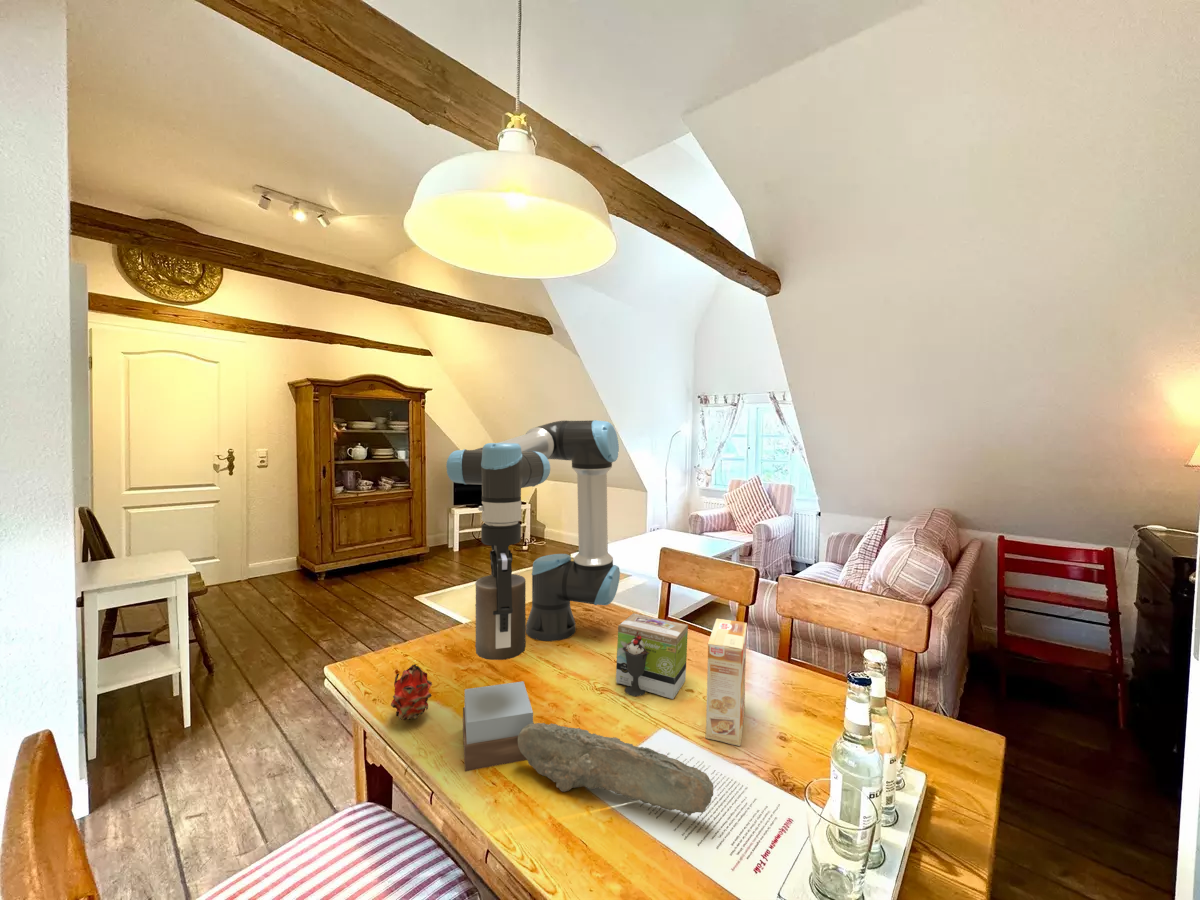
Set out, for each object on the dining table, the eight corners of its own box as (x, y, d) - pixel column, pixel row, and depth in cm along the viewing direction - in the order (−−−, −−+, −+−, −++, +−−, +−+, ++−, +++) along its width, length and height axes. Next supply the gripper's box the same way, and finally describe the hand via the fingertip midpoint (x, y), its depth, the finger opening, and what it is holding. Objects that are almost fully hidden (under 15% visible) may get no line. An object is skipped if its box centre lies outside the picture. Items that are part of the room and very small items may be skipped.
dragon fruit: (379, 727, 100) (379, 670, 100) (405, 705, 108) (405, 652, 108) (415, 734, 98) (415, 676, 97) (439, 711, 106) (439, 657, 106)
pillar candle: (534, 652, 94) (534, 576, 93) (485, 665, 88) (486, 584, 88) (513, 635, 102) (513, 564, 101) (467, 646, 96) (467, 571, 96)
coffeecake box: (741, 747, 95) (743, 649, 95) (704, 738, 98) (706, 643, 97) (746, 707, 109) (748, 621, 109) (713, 701, 112) (715, 617, 111)
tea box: (614, 684, 118) (616, 624, 118) (630, 667, 127) (632, 611, 127) (674, 701, 111) (676, 636, 111) (686, 682, 120) (688, 622, 120)
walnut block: (462, 731, 100) (463, 707, 100) (526, 721, 104) (526, 698, 104) (465, 773, 87) (465, 746, 87) (536, 760, 91) (537, 734, 91)
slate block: (464, 708, 99) (464, 689, 99) (523, 699, 103) (523, 681, 103) (466, 744, 88) (466, 722, 88) (532, 733, 92) (533, 712, 91)
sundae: (631, 701, 111) (633, 635, 111) (616, 687, 117) (618, 625, 117) (654, 694, 114) (657, 631, 114) (639, 682, 120) (641, 621, 120)
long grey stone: (714, 813, 79) (716, 752, 78) (710, 838, 74) (712, 774, 73) (523, 761, 91) (523, 708, 90) (508, 779, 86) (509, 724, 85)
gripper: (478, 513, 104) (477, 617, 105) (485, 534, 83) (484, 664, 83) (513, 512, 106) (513, 613, 107) (529, 532, 85) (528, 659, 85)
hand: (500, 636), depth 95 cm, fingers closed on pillar candle, 10 cm apart
